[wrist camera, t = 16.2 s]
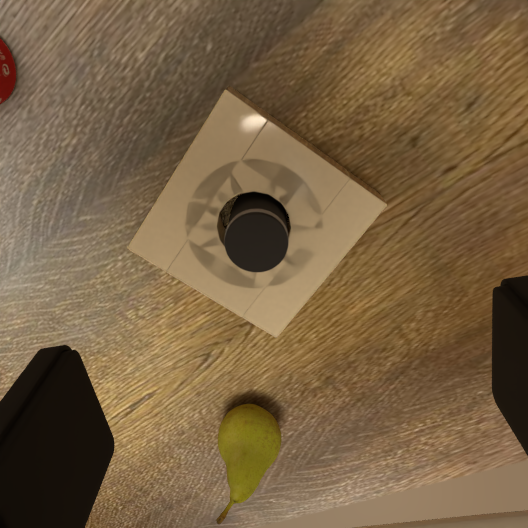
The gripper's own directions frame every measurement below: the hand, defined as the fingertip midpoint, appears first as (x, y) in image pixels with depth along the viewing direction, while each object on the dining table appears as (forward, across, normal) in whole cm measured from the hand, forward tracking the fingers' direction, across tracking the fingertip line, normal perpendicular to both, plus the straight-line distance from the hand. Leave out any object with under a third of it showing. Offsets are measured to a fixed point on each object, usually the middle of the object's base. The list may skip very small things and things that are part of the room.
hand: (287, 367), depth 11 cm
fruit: (+28, +7, +26) cm, 39 cm away
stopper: (+28, +3, +6) cm, 29 cm away
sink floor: (+28, +3, +6) cm, 29 cm away
